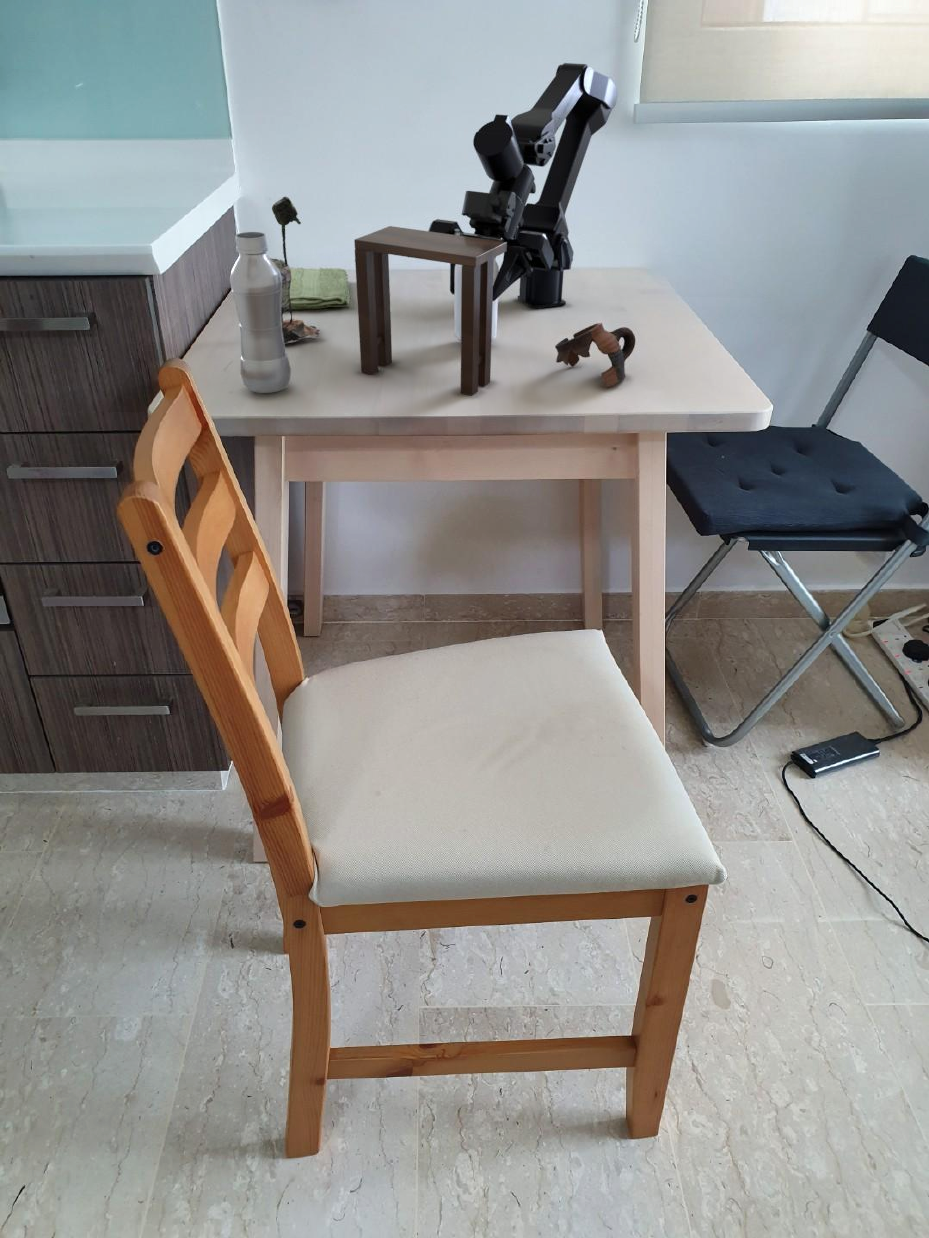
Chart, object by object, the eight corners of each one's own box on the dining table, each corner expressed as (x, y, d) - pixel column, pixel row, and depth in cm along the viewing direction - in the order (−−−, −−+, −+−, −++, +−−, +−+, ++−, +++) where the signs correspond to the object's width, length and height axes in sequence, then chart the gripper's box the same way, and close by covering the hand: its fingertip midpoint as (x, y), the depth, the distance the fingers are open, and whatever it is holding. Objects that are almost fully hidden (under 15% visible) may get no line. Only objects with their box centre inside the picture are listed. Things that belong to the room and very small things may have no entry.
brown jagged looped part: (595, 398, 126) (571, 341, 124) (560, 405, 135) (536, 352, 132) (659, 359, 130) (637, 304, 127) (621, 369, 138) (599, 317, 136)
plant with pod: (250, 330, 146) (233, 194, 135) (322, 329, 147) (311, 193, 135) (244, 348, 140) (225, 206, 128) (319, 346, 140) (308, 205, 129)
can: (492, 346, 138) (494, 263, 131) (450, 343, 139) (450, 260, 132) (500, 332, 143) (502, 251, 136) (459, 329, 144) (459, 248, 137)
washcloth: (271, 312, 154) (269, 293, 152) (279, 282, 168) (277, 264, 166) (351, 311, 155) (349, 291, 153) (351, 281, 169) (350, 263, 167)
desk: (394, 353, 138) (389, 226, 128) (502, 374, 132) (506, 242, 121) (360, 372, 132) (353, 240, 121) (472, 396, 125) (475, 257, 115)
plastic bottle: (245, 381, 128) (225, 229, 117) (294, 380, 129) (279, 229, 117) (240, 399, 123) (219, 241, 112) (291, 398, 124) (275, 241, 112)
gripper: (432, 160, 134) (396, 257, 132) (551, 172, 127) (513, 275, 125) (457, 207, 144) (424, 298, 143) (568, 221, 137) (534, 316, 136)
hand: (471, 296), depth 136 cm, fingers closed on can, 6 cm apart
